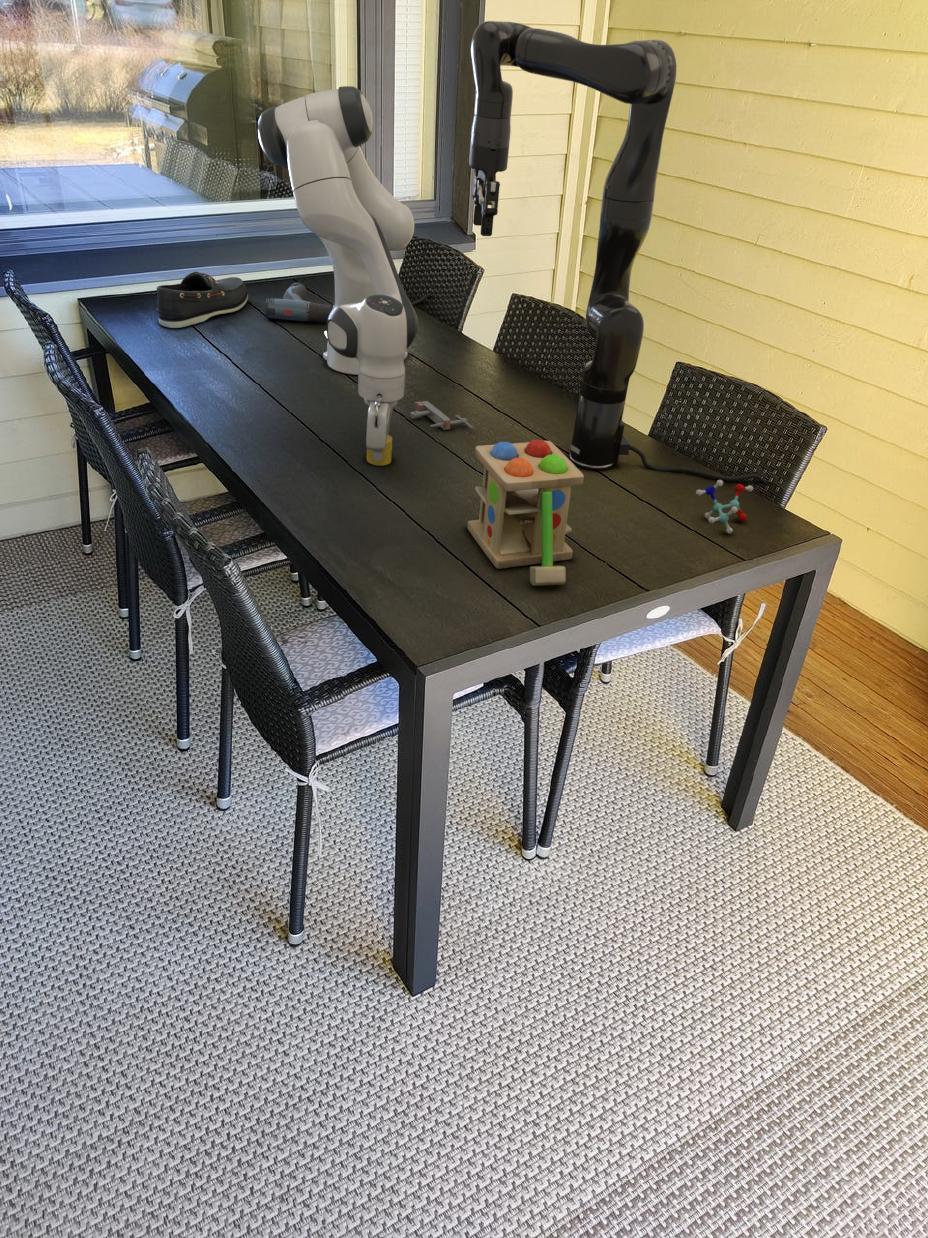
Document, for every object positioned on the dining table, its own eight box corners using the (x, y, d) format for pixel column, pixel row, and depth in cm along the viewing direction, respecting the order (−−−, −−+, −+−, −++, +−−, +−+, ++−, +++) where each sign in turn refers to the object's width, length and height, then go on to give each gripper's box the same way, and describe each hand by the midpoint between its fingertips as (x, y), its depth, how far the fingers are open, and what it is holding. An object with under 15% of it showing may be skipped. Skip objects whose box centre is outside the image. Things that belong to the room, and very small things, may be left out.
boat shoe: (266, 306, 270) (264, 267, 265) (176, 330, 246) (172, 288, 241) (231, 297, 276) (229, 259, 270) (140, 320, 252) (135, 279, 246)
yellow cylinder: (374, 467, 192) (374, 444, 190) (362, 457, 195) (362, 434, 193) (395, 463, 195) (396, 440, 192) (383, 453, 198) (384, 431, 195)
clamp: (402, 403, 214) (442, 397, 219) (402, 412, 215) (442, 407, 220) (435, 430, 204) (476, 423, 208) (434, 439, 205) (475, 433, 209)
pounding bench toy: (594, 585, 162) (612, 488, 152) (515, 596, 157) (528, 496, 147) (538, 519, 179) (551, 428, 169) (466, 527, 175) (475, 434, 165)
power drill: (344, 304, 276) (335, 327, 259) (277, 298, 275) (264, 321, 258) (344, 285, 273) (335, 306, 256) (277, 279, 272) (264, 300, 255)
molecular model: (759, 527, 176) (743, 474, 175) (707, 542, 180) (691, 490, 179) (762, 518, 187) (747, 467, 185) (712, 532, 190) (698, 483, 189)
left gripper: (394, 407, 178) (391, 476, 186) (401, 368, 195) (398, 432, 203) (359, 404, 178) (357, 473, 185) (369, 365, 194) (367, 430, 202)
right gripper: (464, 134, 194) (458, 220, 203) (477, 147, 182) (469, 238, 191) (501, 137, 195) (493, 222, 204) (516, 149, 183) (507, 240, 193)
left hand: (378, 452), depth 194 cm, fingers closed on yellow cylinder, 5 cm apart
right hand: (482, 230), depth 198 cm, fingers open, 8 cm apart
